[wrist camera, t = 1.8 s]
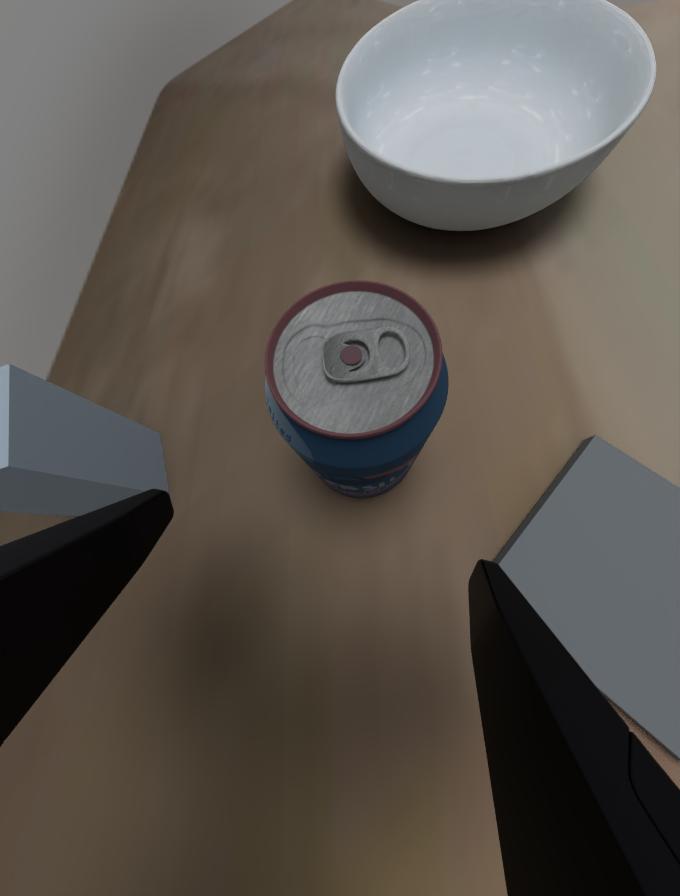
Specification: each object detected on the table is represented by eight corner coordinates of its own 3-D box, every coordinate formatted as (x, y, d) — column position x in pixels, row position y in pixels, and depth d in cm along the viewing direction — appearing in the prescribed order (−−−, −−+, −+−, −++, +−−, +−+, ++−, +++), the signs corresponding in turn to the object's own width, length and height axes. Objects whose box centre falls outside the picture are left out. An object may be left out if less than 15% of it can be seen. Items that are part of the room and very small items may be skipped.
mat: (679, 760, 15) (700, 776, 14) (475, 584, 18) (481, 587, 17) (788, 571, 17) (814, 574, 16) (584, 439, 20) (595, 434, 19)
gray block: (169, 495, 22) (8, 466, 12) (104, 517, 22) (-108, 506, 12) (160, 433, 23) (9, 363, 13) (99, 454, 23) (-94, 400, 14)
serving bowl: (331, 128, 31) (321, 17, 24) (542, 83, 29) (591, -47, 23) (359, 291, 25) (354, 205, 18) (623, 245, 23) (721, 133, 17)
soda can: (317, 505, 20) (248, 471, 9) (309, 411, 22) (244, 283, 11) (420, 493, 20) (488, 439, 8) (403, 398, 22) (438, 249, 10)
